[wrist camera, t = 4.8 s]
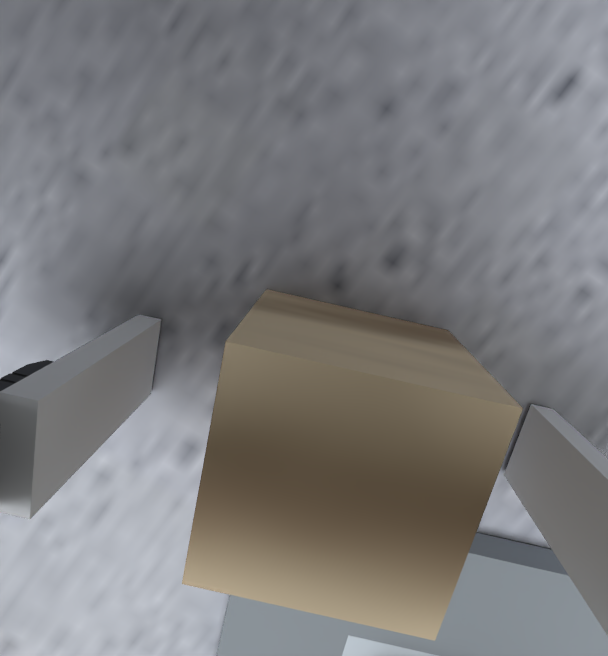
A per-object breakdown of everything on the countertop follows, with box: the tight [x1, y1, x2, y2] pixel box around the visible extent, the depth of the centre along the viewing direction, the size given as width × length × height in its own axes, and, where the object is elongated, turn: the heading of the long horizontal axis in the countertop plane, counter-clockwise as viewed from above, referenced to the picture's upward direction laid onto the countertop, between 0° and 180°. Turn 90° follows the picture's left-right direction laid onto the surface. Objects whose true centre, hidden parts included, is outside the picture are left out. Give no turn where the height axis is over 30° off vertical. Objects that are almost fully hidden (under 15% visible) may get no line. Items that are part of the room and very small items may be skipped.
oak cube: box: [182, 289, 523, 641], centre depth 13 cm, size 6×6×6 cm
